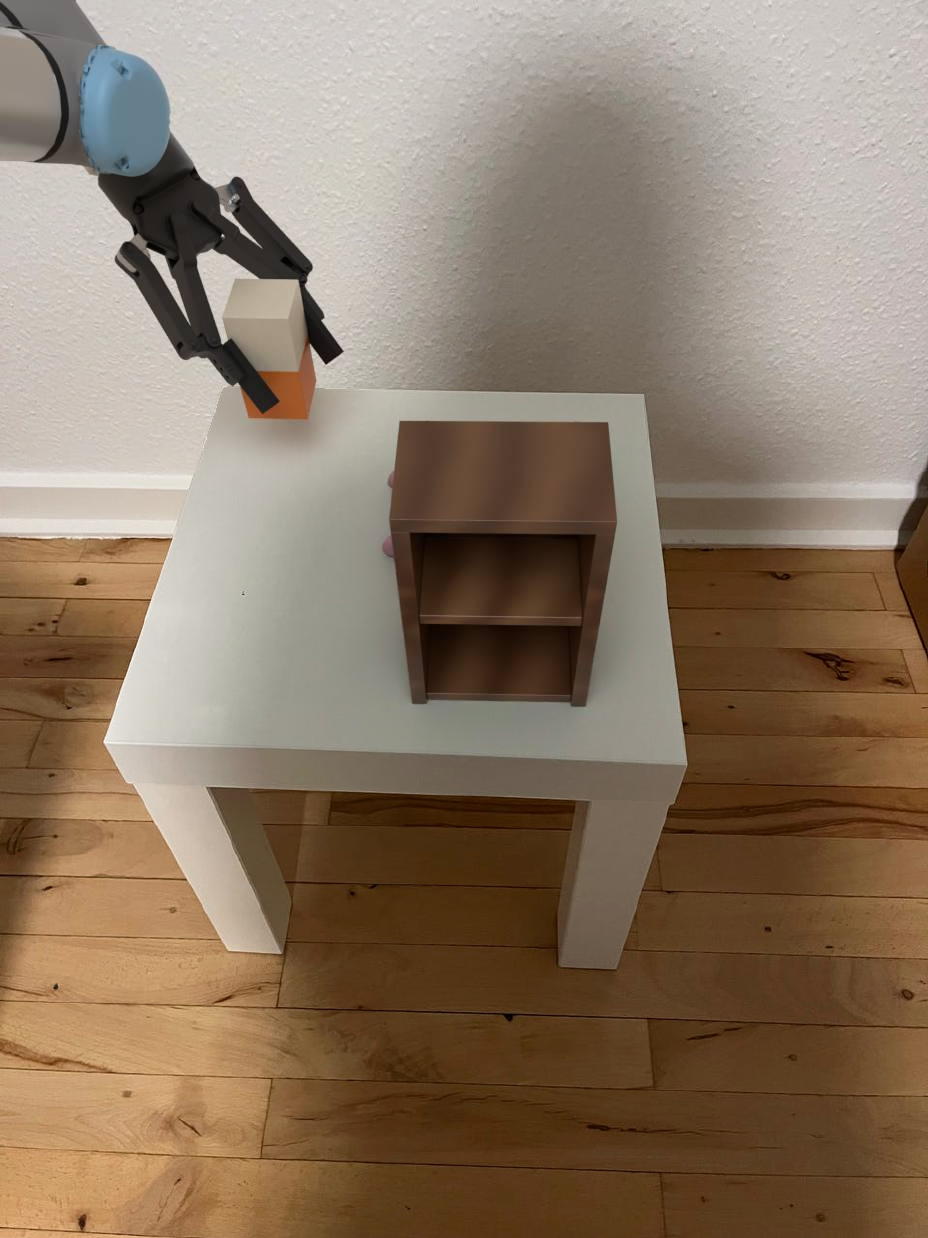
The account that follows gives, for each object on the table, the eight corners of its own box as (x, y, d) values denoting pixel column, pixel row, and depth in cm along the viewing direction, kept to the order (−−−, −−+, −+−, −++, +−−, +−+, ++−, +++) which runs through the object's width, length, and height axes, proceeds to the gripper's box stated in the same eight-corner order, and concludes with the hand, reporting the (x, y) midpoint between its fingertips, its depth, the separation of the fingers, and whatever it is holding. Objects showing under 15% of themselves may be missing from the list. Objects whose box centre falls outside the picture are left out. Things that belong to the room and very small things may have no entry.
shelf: (411, 704, 74) (388, 519, 57) (418, 614, 80) (399, 420, 62) (585, 707, 74) (617, 521, 56) (580, 616, 79) (608, 421, 62)
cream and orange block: (248, 418, 86) (221, 317, 77) (259, 379, 89) (234, 278, 80) (307, 419, 86) (287, 318, 77) (316, 380, 89) (298, 279, 80)
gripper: (36, 184, 68) (236, 435, 75) (235, 79, 78) (396, 311, 85) (20, 228, 75) (207, 456, 82) (206, 126, 84) (358, 338, 91)
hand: (303, 382), depth 83 cm, fingers closed on cream and orange block, 8 cm apart
